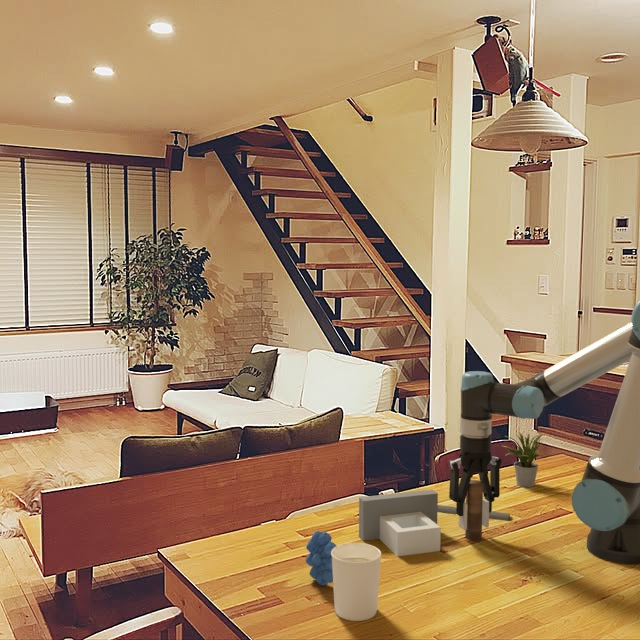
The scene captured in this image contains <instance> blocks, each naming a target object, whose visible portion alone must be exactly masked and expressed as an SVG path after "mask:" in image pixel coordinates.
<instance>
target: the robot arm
mask: <svg viewBox="0 0 640 640" xmlns="http://www.w3.org/2000/svg"><path fill="white" fill-rule="evenodd" d="M628 362H629V363H628ZM626 363H628V365H627V368H626V372H625V375H624V378H623V381H622V384H621V386H620V388H619V392H618V394H617V398H616V401H615V404H614V407H613V410H612V413H611V416H610V419H609V422H608V424H607V427H606V431H605V434H604V437H603V439H602V443H601V445H600V448H599V451H598V453H596V454H595V455H591V456H590V457H589V459H588V460H587V464H586V466H585V470H584V473H583V474H582V478H581V481H579V482H578V483H577V484H576V485H575V487H574V489H573V491H572V493H571V501H570V502H571V506H572V510H573V511H574V513H575V515H576V517H577V518H578V519H579V521H581V522H582V523H583V524H585V525H586V526H587V527H589V528H590V531H589V533H588V535H587V536H586V537H587V538H586V549H587V550H588V551H589V552H590V553H591V554H592V555H594V556H595V557H598V558H600V559H602V560H606V561H609V562H613V563H618V564H626V565H640V299H639V300H638V301H637V302H636V304H635V306H634V307H633V309H632V312H631V321H629V322H627V323H626V324H624V325H622V326H620V327H618V328H617V329H615V330H614V331H612V332H609V333H608V334H607V335H605V336H603V337H601V338H599V339H597V340H596V341H594V342H592V343H590V344H589V345H587V346H585V347H583V348H582V349H580V350H578V351H576V352H574V353H573V354H571V355H569V356H568V357H566V358H565V359H562V360H560V361H558V362H557V363H555V364H554V365H552V366H550V367H548V368H547V369H545V370H543V371H540V372H538V373H537V374H536V375H533V376H532V377H530V378H528V379H526V380H523V381H519V382H518V383H517V382H516V383H512V384H511V383H501V382H497V381H494V377H493V374H492V373H491V372H487V371H484V370H483V371H482V370H481V371H480V370H475V371H474V370H473V371H471V370H470V371H465V372H464V373H463V374H462V375H461V384H460V386H461V387H460V391H459V392H460V428H459V429H460V430H459V432H460V436H459V449H460V454H459V456H458V458H457V459H456V458H455V459H454V460H453V459H449V461H448V465H449V466H448V467H449V489H448V490H449V493H448V497H449V499H450V500H452V502H454V503H456V506H455V507H456V513H457V516H458V527H459V528H461V529H462V530H464V531H465V530H467V503H466V495H467V491H468V487H469V484H470V480H472V478H473V475H474V474H475V473H478V476H479V481H481V482H483V507H482V527H485V528H489V527H490V526H489V523H490V519H489V513H491V511H493V503H494V502H495V500H496V499H495V498H499V497H500V495H501V494H500V492H501V491H500V482H501V481H500V471H501V469H500V468H501V465H502V462H503V461H502V458H501V457H500V458H499V457H497V456H495V455H493V456H492V454H491V450H492V436H491V434H492V426H493V425H492V422H493V421H492V419H493V414H494V415H501V416H507V417H513V418H519V419H521V420H522V419H523V420H525V419H529V420H530V419H531V420H536V419H538V418H539V417H540V416H541V414H542V412H543V410H544V407H547V406H548V405H551V403H553V402H555V401H557V400H558V399H560V398H561V397H563V396H565V395H567V394H569V393H571V392H573V391H575V390H577V389H578V388H580V387H582V386H585V385H586V384H588V383H590V382H591V381H593V380H595V379H597V378H599V377H601V376H603V375H605V374H607V373H608V372H610V371H612V370H614V369H616V368H618V367H620V366H621V365H624V364H626ZM489 464H490V466H489ZM461 466H462V469H461ZM488 466H489V470H488ZM460 469H461V475H460ZM460 476H461V477H460Z"/></svg>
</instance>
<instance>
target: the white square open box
mask: <svg viewBox="0 0 640 640" xmlns="http://www.w3.org/2000/svg"><path fill="white" fill-rule="evenodd" d="M379 540H380V541H381V542H382V543H383V544H384V545H385V546H386V547H387V548H388V549H389V550H390V551H392V553H393V554H394V555H395V556H396V557H405V556H411V555H419V554H426V553H433V552H441V526H440V525H438V523H437V524H436V523H434V522H433V521H432V520H431V519H429V518H428V517H427V516H426V515H424V514H423V513H422V512H414V513H405V514H396V515H387V516H380V539H379Z"/></svg>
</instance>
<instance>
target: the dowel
mask: <svg viewBox="0 0 640 640" xmlns="http://www.w3.org/2000/svg"><path fill="white" fill-rule="evenodd" d="M483 498H484V494H483V482H481V481H480V480H476V479H471V480H470V484H469V487H468V491H467V495H466V499H465V503H467V530H464V531H465V533H464V536H465V539H466V540H469V541H473V542H474V541H476V542H477V541H480V540H482V539H483V525H482V507H483Z"/></svg>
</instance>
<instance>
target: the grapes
mask: <svg viewBox="0 0 640 640" xmlns="http://www.w3.org/2000/svg"><path fill="white" fill-rule="evenodd" d="M332 538H333V537H332V535H330V533H329V532H326V531H324V532H321V531H320V530H315V531H314V533H312V535H311V539H310V540H309V541H308V542H307V544H306V546H305V547H306V550H307V551H308V552H309V553H308V555H307V557H306V558H305V563H306V564H307V565H308V566H310V567H311V569H310V571H309V575H310V577H311V578H312V579H314V580H316V583H317V584H318V585H320V586H322V587H323V586H324V587H325V586H326V585H328V583H329V584H331V583H333V572H332V556H331V551H332V549H333V548H335V547H336V546H337V545H336V543H334V542H332Z"/></svg>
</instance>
